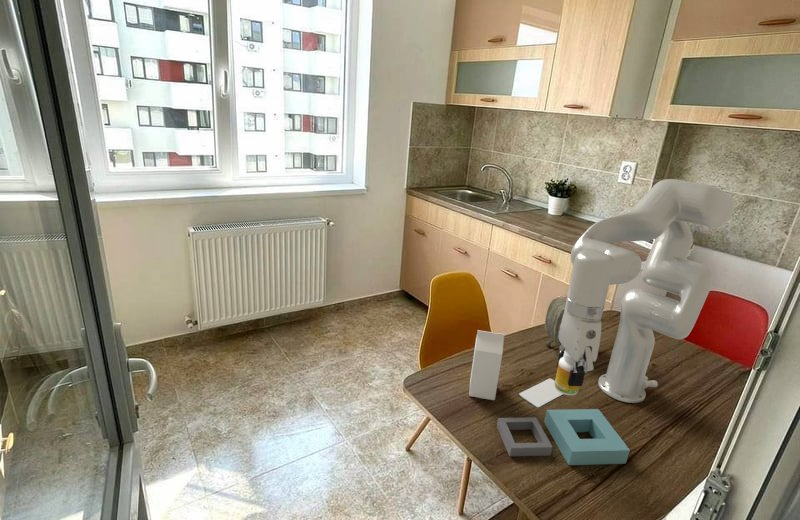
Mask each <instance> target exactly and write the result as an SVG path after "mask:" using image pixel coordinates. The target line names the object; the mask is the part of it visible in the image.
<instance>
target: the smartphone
mask: <svg viewBox="0 0 800 520" xmlns="http://www.w3.org/2000/svg"><path fill="white" fill-rule="evenodd" d="M554 383H555V380H554V379H553V378H550V377H549V378H547V379H545V380H543V381H541V382H539V383H537V384H535V385H533V386H531V387H529V388H527V389H524V390H523V391H520V392H519V393H517V396H519V397H520V398H521V399H523V400H524V401H526V402H527V403H528V404H530V405H531V406H532V407H534V408H536V409H539V408H541V407H543V406H544V405H547V404H549V403H550V402H552V401H554V400H556V399H558V398H560V397H561V396H564V395H565V394H562V393H560V392H559V391H557V390H556V388H555V386H554Z"/></svg>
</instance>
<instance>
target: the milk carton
mask: <svg viewBox="0 0 800 520" xmlns="http://www.w3.org/2000/svg"><path fill="white" fill-rule="evenodd" d="M504 339H505V334H504V333H499V332H491V331H486V330H479V329H477V332H476V336H475V345H474V351H473V357H472V365H471V372H470V379H469V389H468V391H469V392H468V396H469V397H473V398H474V397H475V398H479V399H485V400H490V401H495V400H496V396H497V387H498V384H499V383H498V382H499V379H500V378H499V377H500V372H501V371H500V370H501V364H502V360H503V353H504V351H503V350H504V343H505V341H504Z"/></svg>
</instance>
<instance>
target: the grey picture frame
mask: <svg viewBox="0 0 800 520" xmlns="http://www.w3.org/2000/svg"><path fill="white" fill-rule="evenodd" d="M496 428H497V430H498V432H499V434H500V437H501V440H502V442H503V444H504V447H505V450H506V451H507V453H508V456H509V457H537V456H538V457H543V456H551V455H552V451H553V445H552V444H551V442H550V440H549V438H548V436H547V434H546V433H545V430H544V429H543V427H542V425H541V423H540V422H539V420H538V418H537V417H536V416H535V417H532V416H531V417H497V423H496ZM518 430H519V431H523V430H525V431H526V430H527V431H529V430H531V433H532V434H533V436H534V438H535V439H536V442H516V441H515V440H514V438H513V435H512V433H511V431H518Z"/></svg>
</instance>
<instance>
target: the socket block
mask: <svg viewBox="0 0 800 520" xmlns="http://www.w3.org/2000/svg"><path fill="white" fill-rule="evenodd" d="M543 423H544V424H545V427H546V428H547V430H548V432H549V434H550V435H551V437H552V439H553V440H554V443H555V444H556V446H557V447H558V449H559V451H560V453H561V455H562V457H563V458H564V460H565V461H566V463H567V465H568V466H584V465H585V466H586V465H618V464H619V465H620V464H621V465H622V464H627V461H628V458H629V454H630V451H631V449H630V448H629V446H627V444H626V443H625V441H624V440H623V439H622V437H621V436H620V435H619V433H617V431H616V429H614V428H613V426H612V424H611V423H610V422H609V421H608V419H607V418H606V416H604V415H603V412H602V411H601V410H600V409H599V408H586V409H585V408H582V409H577V408H576V409H546V412H545V417H544V422H543ZM577 433H589V434H590V436H591V437H592V438H580V437H579V436H578V434H577Z"/></svg>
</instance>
